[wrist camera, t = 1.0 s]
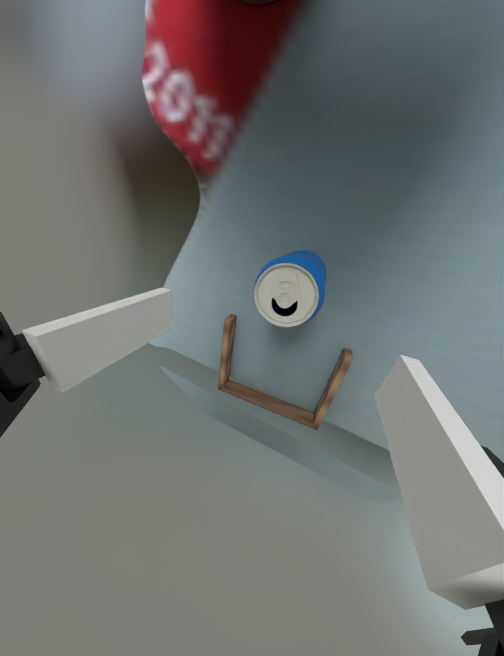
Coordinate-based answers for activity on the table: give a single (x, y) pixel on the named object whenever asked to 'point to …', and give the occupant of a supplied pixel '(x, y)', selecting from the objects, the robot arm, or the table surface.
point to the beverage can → (291, 289)
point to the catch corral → (271, 402)
